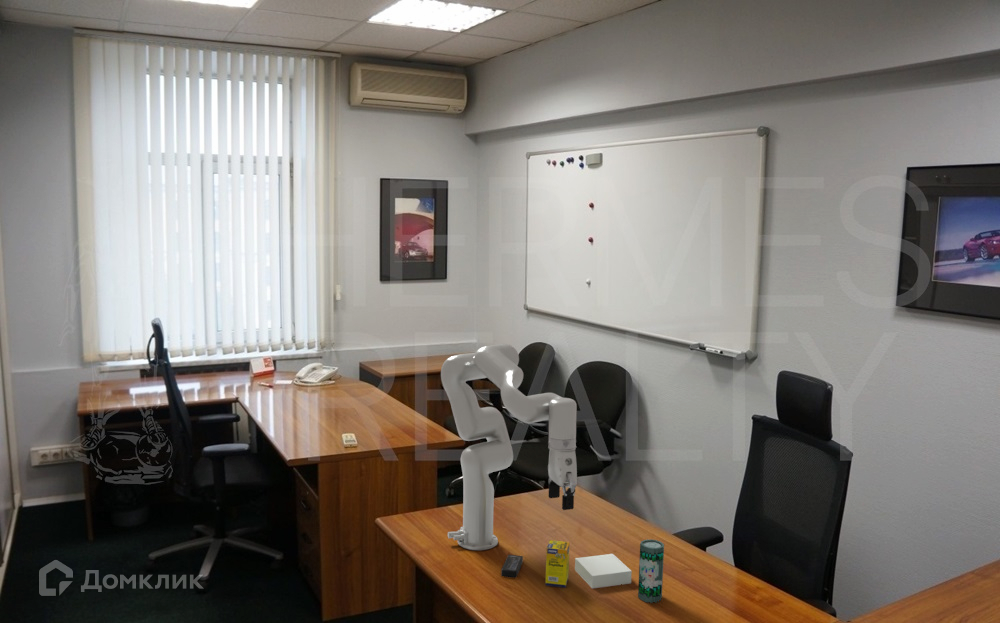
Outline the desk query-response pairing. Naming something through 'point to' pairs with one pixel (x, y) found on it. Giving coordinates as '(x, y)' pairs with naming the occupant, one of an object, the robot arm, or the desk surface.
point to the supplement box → (557, 563)
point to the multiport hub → (512, 566)
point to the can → (651, 570)
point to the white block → (603, 570)
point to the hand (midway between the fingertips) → (560, 503)
